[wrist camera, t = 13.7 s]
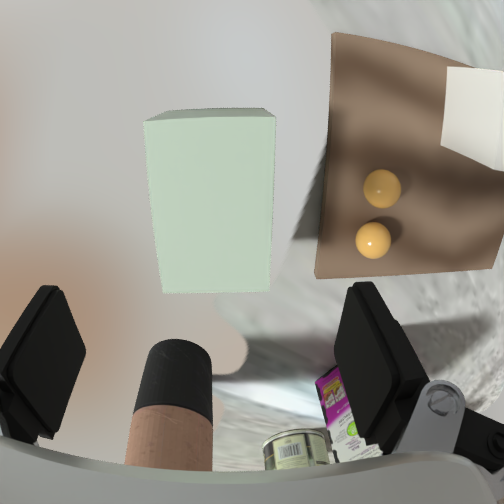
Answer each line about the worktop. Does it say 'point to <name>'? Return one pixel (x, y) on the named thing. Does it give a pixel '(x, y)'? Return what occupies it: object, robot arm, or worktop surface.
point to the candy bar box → (341, 420)
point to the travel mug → (173, 410)
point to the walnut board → (401, 168)
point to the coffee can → (295, 450)
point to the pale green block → (212, 198)
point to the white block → (475, 115)
